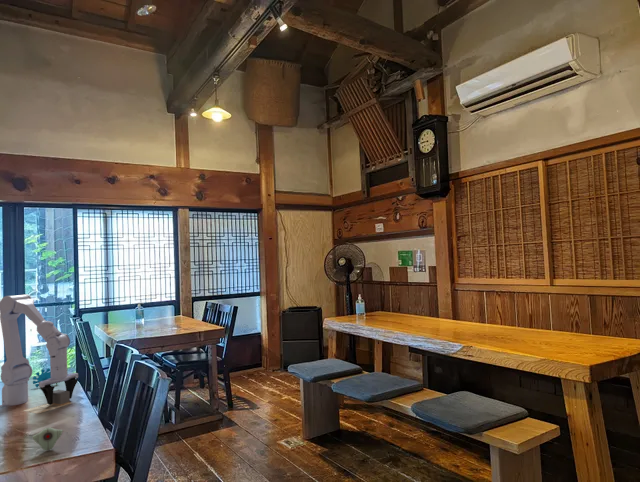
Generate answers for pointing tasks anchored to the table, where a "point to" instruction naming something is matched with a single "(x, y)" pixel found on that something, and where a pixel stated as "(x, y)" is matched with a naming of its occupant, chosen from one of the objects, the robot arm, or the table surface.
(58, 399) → the block
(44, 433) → the robot head
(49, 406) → the plank
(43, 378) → the gear
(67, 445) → the table surface
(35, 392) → the table surface
